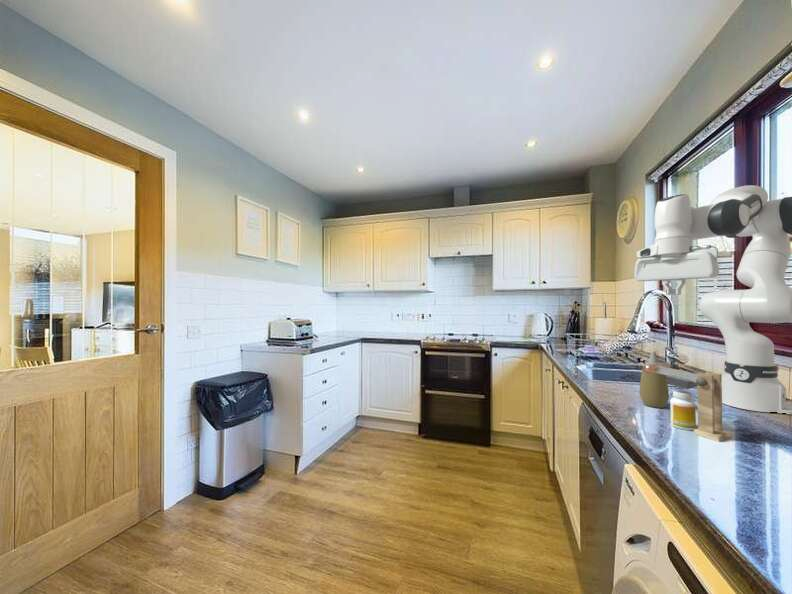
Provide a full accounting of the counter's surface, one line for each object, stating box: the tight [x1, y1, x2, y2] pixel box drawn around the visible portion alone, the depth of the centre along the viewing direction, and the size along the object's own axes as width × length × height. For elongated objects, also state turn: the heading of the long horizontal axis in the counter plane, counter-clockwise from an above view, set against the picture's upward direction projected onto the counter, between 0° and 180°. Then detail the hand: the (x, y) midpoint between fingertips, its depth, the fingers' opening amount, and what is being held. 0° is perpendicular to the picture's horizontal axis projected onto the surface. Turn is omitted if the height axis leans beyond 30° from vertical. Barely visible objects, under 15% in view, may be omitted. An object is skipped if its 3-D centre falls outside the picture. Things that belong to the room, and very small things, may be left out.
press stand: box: [693, 371, 733, 442], centre depth 87 cm, size 7×5×16 cm
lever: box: [642, 361, 715, 390], centre depth 94 cm, size 10×15×4 cm
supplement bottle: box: [669, 390, 697, 431], centre depth 93 cm, size 5×5×10 cm
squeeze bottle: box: [638, 351, 670, 409], centre depth 112 cm, size 8×8×18 cm
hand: (673, 295), depth 100 cm, fingers closed
